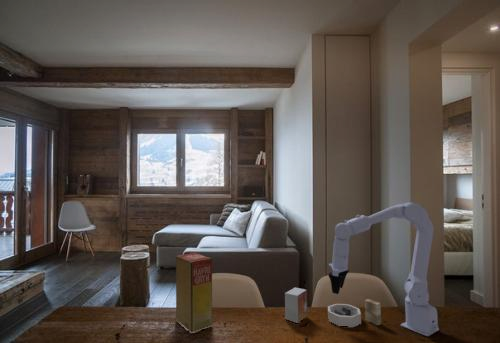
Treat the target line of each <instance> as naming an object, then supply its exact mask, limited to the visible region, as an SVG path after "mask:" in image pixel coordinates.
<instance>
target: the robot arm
mask: <svg viewBox="0 0 500 343" xmlns="http://www.w3.org/2000/svg"><path fill="white" fill-rule="evenodd" d="M393 218H396V219H401V220H402V219H403V220H404V219H406V220H408V221H409V222H410V223H411V225H413V226H414V227H415V229H416V235H415V241H414V248H413V255H412V262H411V267H410V272H409V274H408V276H407V279H406V280H405V282H404V284H403V290H404V291H405V293H406V296H405V298H404V304H405V305H404V307H405V308H404V310H405V322H402V323H401V324H400V326H401V327H403V328H406V329H408V330H410V331H413V332H415V333H418V334H420V335H423V336H426V337H430V336H431V335H433V334H434V333H436V332H438V331H440V328H439V325H438V324H439V323H438V310H437V308H436V307H434V306H432V305H431V304H430V303H429V300H430V293H429V291H428V279H427V276H428V268H429V263H430V257H431V248H432V243H433V236H434V230H435V228H434V225H433V223H432V221H431V219H430V217H429V214H428V211H427V210H426V209H425V208H424V207H422V206H421V205H420V204H418V203H414V202H412V201H406V202H403V203H398V204H395V205H392V206H389V207H387V208H385V209H383V210H380V211H378V212H375V213H373V214H370V215H369V216H367V215H364V214H362V215H360V214H357V215H356V216H355V217H353V218H350V219H348V220H347V219H345V220H344V222H339V223H337V224H336V225H335V227H334V241H333V248H332V249H333V250H332V259H331V263H328V267H330V268H331V269H332V270H331V271H332V272H328V278H329V280H330V287H331V292H332V293H333V294H336V295H339V293H340V289H343V286H344V284H345V280H346V277H347V274H348V273H349V271H350V270H349V267H348V264H349V255H350V254H349V253H350V252H349V251H350V243H349V242H350V238H351V236H355V235H357V234H361V233H363V232H366V231H369V230H370V229H371V228H372V225H375V224H377V223H380V222H383V221H386V220H389V219H393Z"/></svg>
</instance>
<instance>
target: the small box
mask: <svg viewBox="0 0 500 343" xmlns="http://www.w3.org/2000/svg"><path fill="white" fill-rule="evenodd" d="M284 312H285V314H284V316H285V319H287V320H290V321H293V322H296V323H299V322H300V321H301V320H303V319H304V318H305V317H306V316H307V317H308V290H307V289H305V288H299V287H293V288H292V289H290V290H288V291H286V292H284ZM305 319H306V318H305ZM305 319H304V320H305ZM304 320H303V321H304ZM300 323H301V322H300ZM300 323H299V324H300Z"/></svg>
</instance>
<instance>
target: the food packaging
mask: <svg viewBox="0 0 500 343" xmlns="http://www.w3.org/2000/svg"><path fill="white" fill-rule="evenodd" d="M176 318H177V319H178V320H179V321H180V322H181V323H182V324H183V325H184V326H185V327H186V328H187V329H189V330H190V331H191V332H193V331H196V330H199V329H202V328H205V327H208V326H211V325H212V326H213V258H211V257H208V256H206V255H203V254H200V253H197V252H191V253H185V254H180V255H176V256H175V319H176Z"/></svg>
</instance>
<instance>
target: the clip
mask: <svg viewBox="0 0 500 343" xmlns="http://www.w3.org/2000/svg"><path fill="white" fill-rule="evenodd" d="M335 314H337V315H341V316H353V309H350V308H348V307H345V306H344V307H342V311H341V310H338V309H336V310H335Z"/></svg>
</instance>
